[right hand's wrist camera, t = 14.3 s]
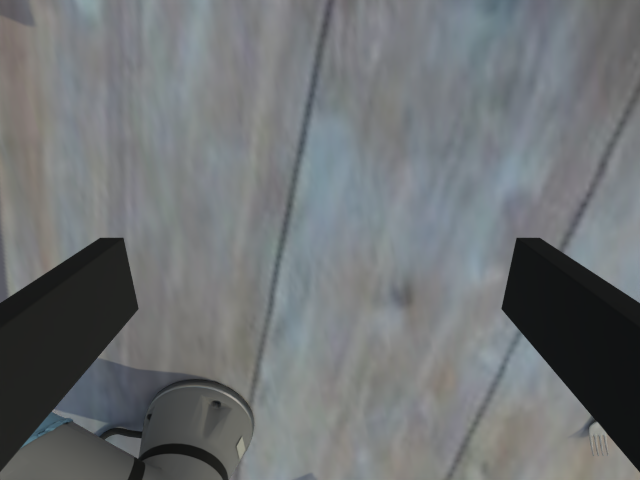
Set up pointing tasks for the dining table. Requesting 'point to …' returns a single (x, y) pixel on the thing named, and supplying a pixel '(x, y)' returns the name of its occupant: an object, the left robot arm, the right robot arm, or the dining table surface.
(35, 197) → the dining table surface
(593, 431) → the fork
